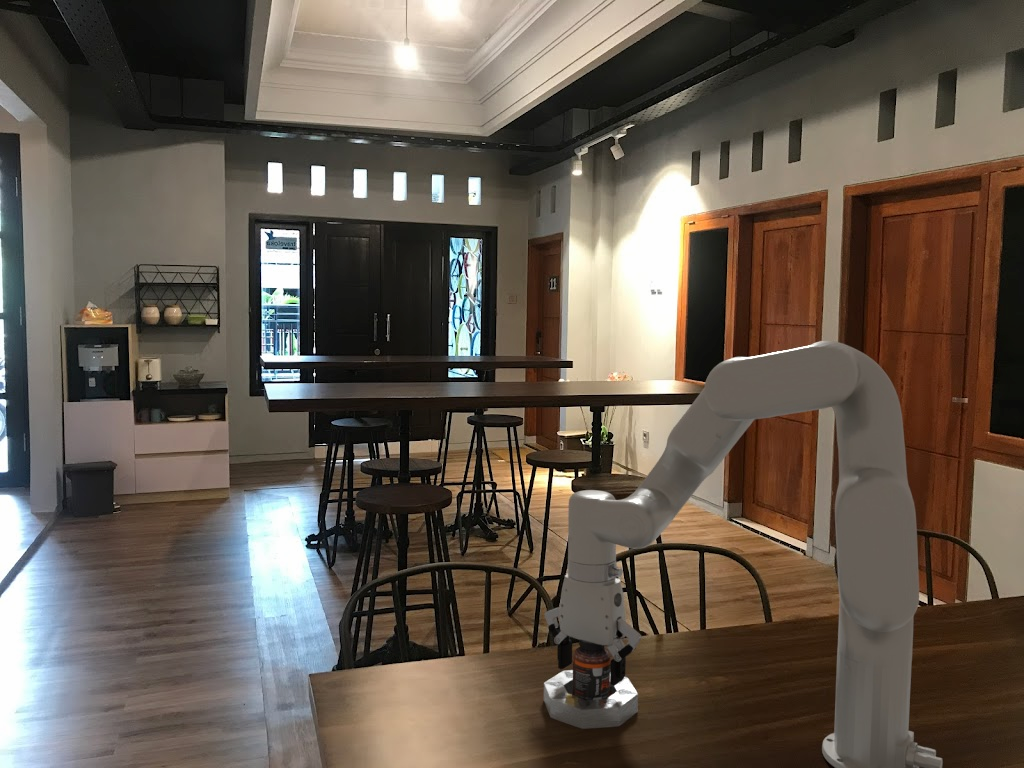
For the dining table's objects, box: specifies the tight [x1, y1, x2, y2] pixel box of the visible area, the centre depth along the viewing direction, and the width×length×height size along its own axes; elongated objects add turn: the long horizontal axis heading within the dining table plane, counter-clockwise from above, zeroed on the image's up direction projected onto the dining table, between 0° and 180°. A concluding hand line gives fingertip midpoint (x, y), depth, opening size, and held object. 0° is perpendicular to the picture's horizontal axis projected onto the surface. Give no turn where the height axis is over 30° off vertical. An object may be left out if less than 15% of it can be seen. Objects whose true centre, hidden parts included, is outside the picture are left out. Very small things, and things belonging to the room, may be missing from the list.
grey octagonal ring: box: [543, 669, 639, 730], centre depth 133 cm, size 14×14×4 cm
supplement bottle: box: [572, 640, 611, 700], centre depth 133 cm, size 6×6×11 cm
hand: (590, 674), depth 133 cm, fingers open, 9 cm apart
